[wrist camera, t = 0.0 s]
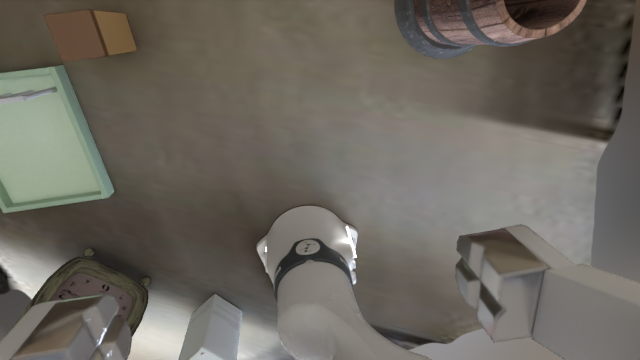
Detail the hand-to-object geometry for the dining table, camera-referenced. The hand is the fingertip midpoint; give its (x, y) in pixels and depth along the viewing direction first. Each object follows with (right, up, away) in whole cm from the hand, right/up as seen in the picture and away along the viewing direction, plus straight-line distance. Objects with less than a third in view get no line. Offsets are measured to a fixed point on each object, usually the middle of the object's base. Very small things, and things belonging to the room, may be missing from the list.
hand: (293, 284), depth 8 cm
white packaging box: (-20, -24, +61) cm, 69 cm away
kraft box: (-28, +23, +39) cm, 53 cm away
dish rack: (-42, +8, +44) cm, 61 cm away
